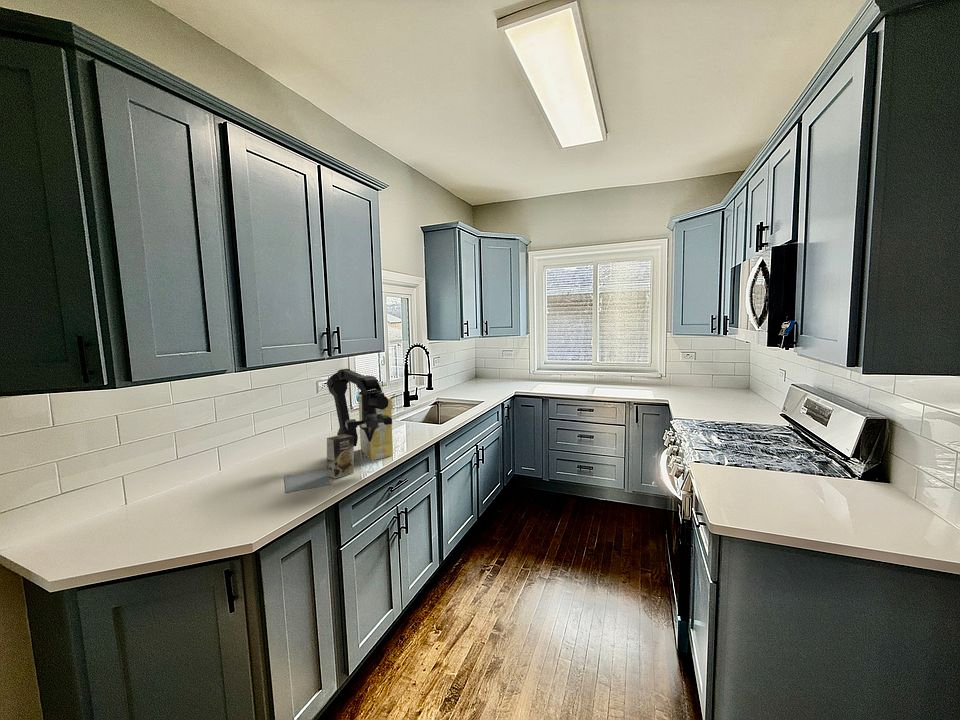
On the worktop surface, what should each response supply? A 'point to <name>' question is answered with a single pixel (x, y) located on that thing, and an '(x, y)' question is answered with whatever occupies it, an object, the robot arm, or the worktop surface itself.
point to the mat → (306, 480)
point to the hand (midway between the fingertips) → (369, 441)
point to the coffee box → (340, 455)
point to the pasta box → (377, 436)
